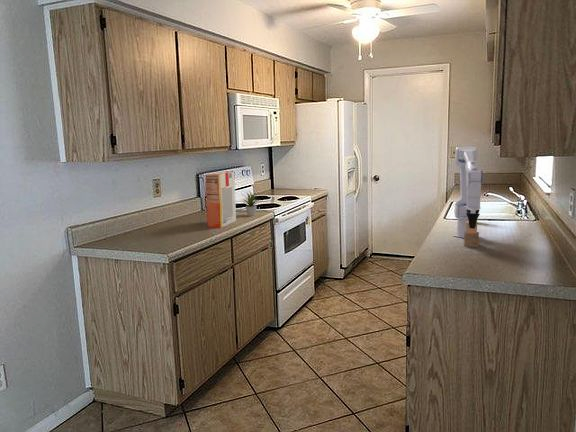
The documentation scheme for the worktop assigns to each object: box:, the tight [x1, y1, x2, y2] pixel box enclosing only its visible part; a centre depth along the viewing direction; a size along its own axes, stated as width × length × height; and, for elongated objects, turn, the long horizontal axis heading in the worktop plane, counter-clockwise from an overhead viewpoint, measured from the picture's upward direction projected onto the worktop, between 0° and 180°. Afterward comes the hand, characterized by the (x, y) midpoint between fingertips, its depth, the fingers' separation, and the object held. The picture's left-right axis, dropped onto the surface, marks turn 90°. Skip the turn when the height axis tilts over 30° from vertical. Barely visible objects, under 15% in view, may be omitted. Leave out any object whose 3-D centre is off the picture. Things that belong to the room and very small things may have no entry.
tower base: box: [463, 239, 480, 248], centre depth 220 cm, size 6×6×3 cm
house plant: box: [242, 191, 263, 217], centre depth 310 cm, size 14×14×16 cm
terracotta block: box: [466, 221, 478, 234], centre depth 219 cm, size 4×4×5 cm
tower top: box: [463, 231, 480, 242], centre depth 219 cm, size 6×6×3 cm
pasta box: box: [204, 170, 237, 229], centre depth 282 cm, size 23×8×30 cm, turn 164°
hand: (472, 226), depth 219 cm, fingers open, 7 cm apart
